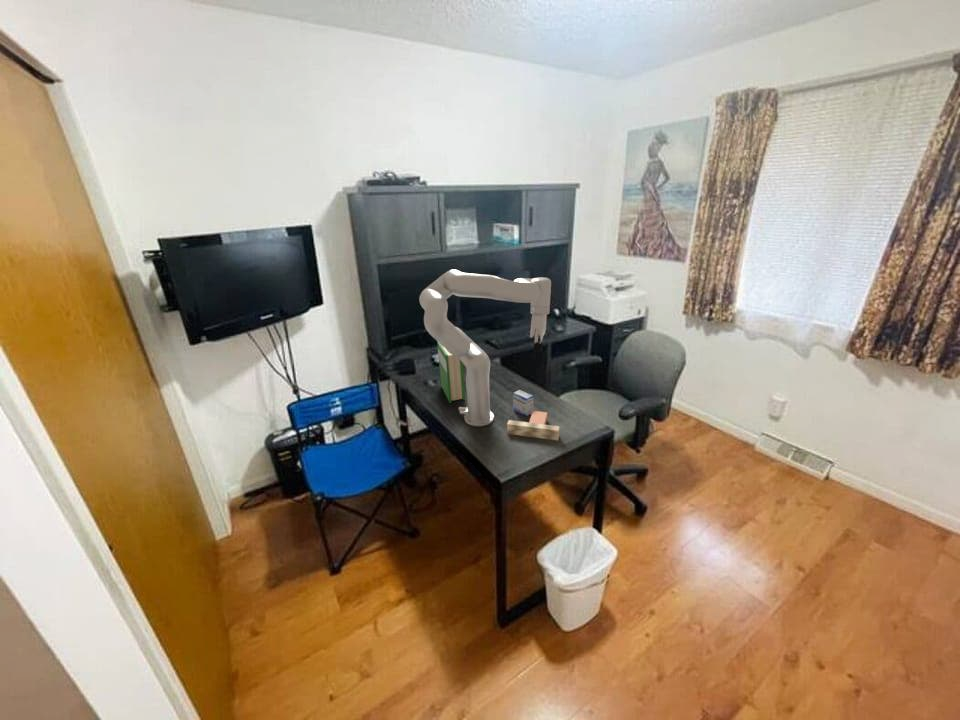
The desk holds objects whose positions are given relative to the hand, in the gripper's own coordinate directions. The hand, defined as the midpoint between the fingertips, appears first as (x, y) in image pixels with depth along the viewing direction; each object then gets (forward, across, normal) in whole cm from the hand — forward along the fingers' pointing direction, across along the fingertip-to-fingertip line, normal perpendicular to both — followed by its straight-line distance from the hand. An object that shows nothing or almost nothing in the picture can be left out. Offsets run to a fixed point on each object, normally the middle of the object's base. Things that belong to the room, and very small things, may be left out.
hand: (537, 351), depth 161 cm
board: (+26, +22, +4) cm, 35 cm away
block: (+27, +15, +4) cm, 31 cm away
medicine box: (+26, +6, -4) cm, 28 cm away
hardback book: (+27, -1, -40) cm, 49 cm away
